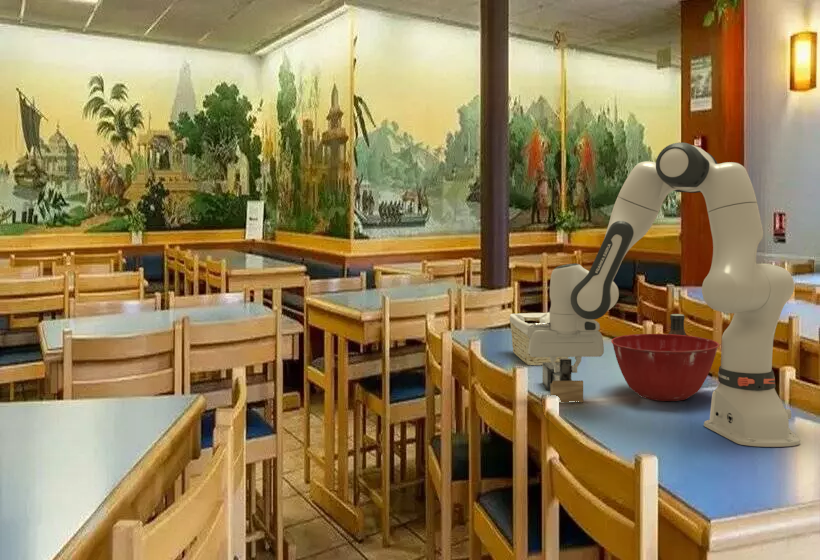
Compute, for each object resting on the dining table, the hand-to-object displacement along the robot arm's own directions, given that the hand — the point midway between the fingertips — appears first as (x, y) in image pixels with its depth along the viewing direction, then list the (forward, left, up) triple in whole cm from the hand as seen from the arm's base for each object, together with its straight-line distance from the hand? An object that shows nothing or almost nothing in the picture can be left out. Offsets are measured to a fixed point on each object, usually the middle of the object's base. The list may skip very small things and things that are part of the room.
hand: (565, 372), depth 204 cm
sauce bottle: (+23, -38, -8) cm, 45 cm away
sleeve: (+14, 0, -8) cm, 16 cm away
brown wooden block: (-2, 0, -8) cm, 8 cm away
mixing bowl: (+4, -28, -8) cm, 29 cm away
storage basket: (+54, -1, -8) cm, 55 cm away
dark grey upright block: (+4, 0, -6) cm, 8 cm away
